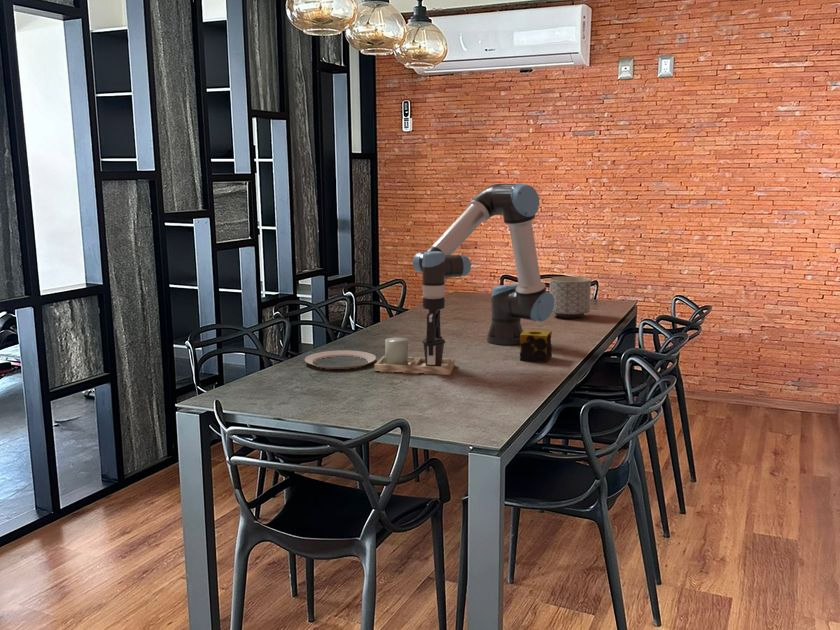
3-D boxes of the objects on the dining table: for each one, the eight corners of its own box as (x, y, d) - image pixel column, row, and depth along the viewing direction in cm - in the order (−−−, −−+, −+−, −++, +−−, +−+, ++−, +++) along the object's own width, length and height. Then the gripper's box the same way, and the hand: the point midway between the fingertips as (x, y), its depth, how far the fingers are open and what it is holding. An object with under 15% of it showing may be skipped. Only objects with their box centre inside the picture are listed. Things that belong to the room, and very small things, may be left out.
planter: (595, 315, 373) (596, 278, 370) (580, 321, 357) (582, 282, 354) (558, 312, 383) (559, 275, 380) (542, 318, 367) (543, 279, 364)
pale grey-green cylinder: (410, 362, 275) (410, 338, 274) (405, 368, 267) (405, 342, 266) (388, 362, 276) (387, 337, 275) (383, 367, 269) (382, 341, 267)
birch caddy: (454, 365, 275) (454, 358, 275) (449, 374, 262) (449, 367, 262) (382, 362, 279) (382, 356, 279) (374, 371, 267) (374, 364, 266)
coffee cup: (437, 371, 264) (437, 342, 262) (417, 367, 268) (417, 339, 266) (449, 365, 271) (449, 337, 268) (429, 362, 275) (430, 334, 273)
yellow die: (552, 357, 288) (552, 330, 287) (547, 363, 279) (548, 335, 277) (524, 355, 292) (525, 329, 290) (519, 361, 282) (519, 334, 280)
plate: (296, 359, 286) (296, 354, 286) (362, 353, 296) (362, 347, 296) (315, 375, 263) (315, 369, 263) (386, 367, 273) (386, 362, 273)
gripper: (428, 292, 277) (428, 353, 281) (417, 301, 255) (417, 368, 259) (448, 292, 275) (448, 354, 279) (439, 302, 254) (439, 369, 258)
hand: (433, 361), depth 269 cm, fingers open, 9 cm apart
